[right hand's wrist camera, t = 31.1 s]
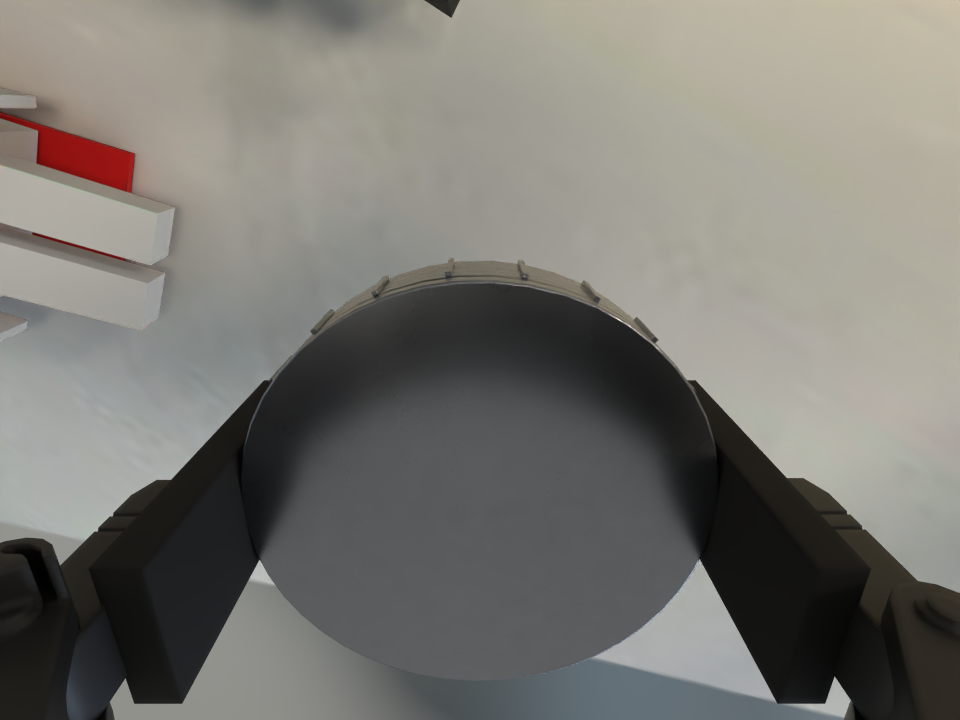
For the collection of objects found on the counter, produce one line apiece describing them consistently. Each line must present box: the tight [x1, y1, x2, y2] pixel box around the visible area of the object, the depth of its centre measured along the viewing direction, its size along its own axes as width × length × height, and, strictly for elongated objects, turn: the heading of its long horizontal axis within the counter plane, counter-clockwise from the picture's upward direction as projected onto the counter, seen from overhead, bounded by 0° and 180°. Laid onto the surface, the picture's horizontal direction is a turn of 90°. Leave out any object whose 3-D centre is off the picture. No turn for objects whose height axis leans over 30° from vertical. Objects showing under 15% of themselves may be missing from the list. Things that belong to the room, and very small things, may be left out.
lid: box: [240, 258, 719, 681], centre depth 11 cm, size 10×10×2 cm
